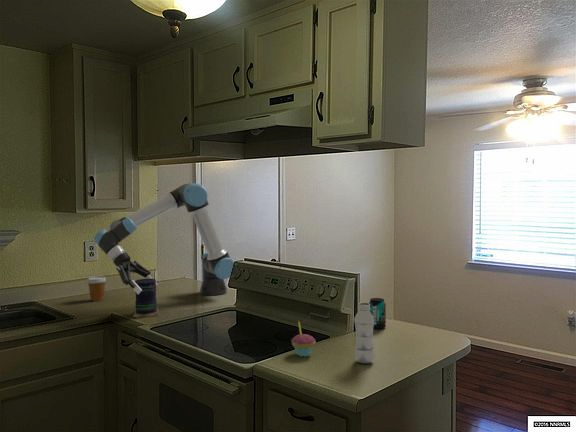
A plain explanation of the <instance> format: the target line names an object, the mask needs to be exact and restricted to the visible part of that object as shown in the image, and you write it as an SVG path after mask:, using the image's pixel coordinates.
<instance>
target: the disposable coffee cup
mask: <svg viewBox="0 0 576 432" xmlns="http://www.w3.org/2000/svg"><path fill="white" fill-rule="evenodd" d="M86 282H87V285H88V289H89V295H90V300H91V302H101V301H103V300H104V299H105V289H106V283H107V279H106V276H92V277H89V278H88V279H87V280H86Z"/></svg>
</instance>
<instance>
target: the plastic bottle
mask: <svg viewBox="0 0 576 432" xmlns="http://www.w3.org/2000/svg"><path fill="white" fill-rule="evenodd" d="M369 310H370V304H369V302H368V303H367V302H361V303H360V302H359V303H358V312H357V313H356V315H354V327H355V335H356V336H355V337H356V341H355V342H356V343H355V350H354V358H355V360H356V362H357V363H360V364H367V365H368V364H372V363H373V362H375V361H374V360H375V356H376V355H375V349H374V343H373V338H374V337H373V335H374V329H373V326H374V318H373V316H372V314H371V313H370V311H369Z"/></svg>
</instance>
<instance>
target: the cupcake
mask: <svg viewBox="0 0 576 432" xmlns="http://www.w3.org/2000/svg"><path fill="white" fill-rule="evenodd" d="M298 329H299V334H297V335H294V337H293V338H291V340H290V341H291V342H290V343H291V345H292V347H294V350H295V352H296V355H297V356H298V355H299V356H298V357H302V356H304V357H308V356H309V357H310V356H311V352H312V350H313V347H314V346H315V345H316V343H317V342H316V338H315V337H313V336H312V335H310V334H307V333H306V334H305V333H302V327H301V322H300V320H298Z"/></svg>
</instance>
